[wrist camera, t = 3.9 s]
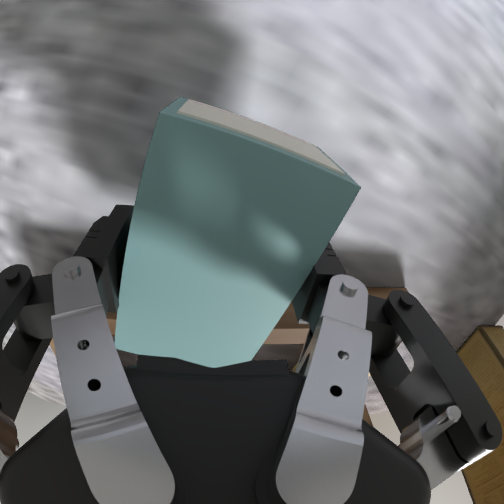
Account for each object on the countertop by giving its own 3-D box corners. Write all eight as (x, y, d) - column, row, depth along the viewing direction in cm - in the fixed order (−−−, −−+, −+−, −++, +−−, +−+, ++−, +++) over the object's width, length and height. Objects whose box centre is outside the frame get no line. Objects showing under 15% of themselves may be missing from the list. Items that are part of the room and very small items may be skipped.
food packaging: (452, 381, 37) (504, 497, 17) (420, 387, 35) (474, 524, 14) (504, 324, 31) (574, 448, 10) (478, 324, 28) (560, 476, 8)
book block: (181, 94, 9) (160, 109, 6) (318, 145, 11) (362, 185, 8) (131, 283, 14) (114, 348, 10) (235, 308, 15) (242, 373, 12)
